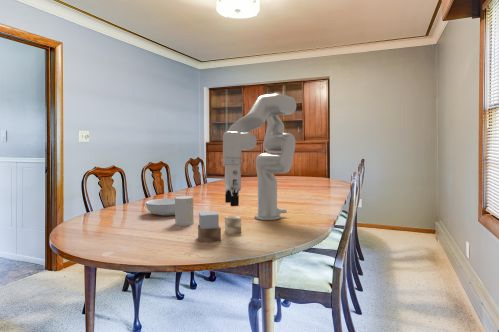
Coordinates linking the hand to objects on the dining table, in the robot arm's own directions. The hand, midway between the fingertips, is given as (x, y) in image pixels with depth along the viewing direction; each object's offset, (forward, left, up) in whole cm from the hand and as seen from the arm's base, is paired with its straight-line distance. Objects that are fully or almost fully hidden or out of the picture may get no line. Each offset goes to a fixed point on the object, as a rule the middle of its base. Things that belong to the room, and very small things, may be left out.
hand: (231, 204), depth 131 cm
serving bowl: (+24, -45, -12) cm, 52 cm away
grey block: (+11, +7, -7) cm, 15 cm away
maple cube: (-1, -1, -12) cm, 12 cm away
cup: (+17, -21, -12) cm, 29 cm away
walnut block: (+11, +7, -12) cm, 17 cm away
